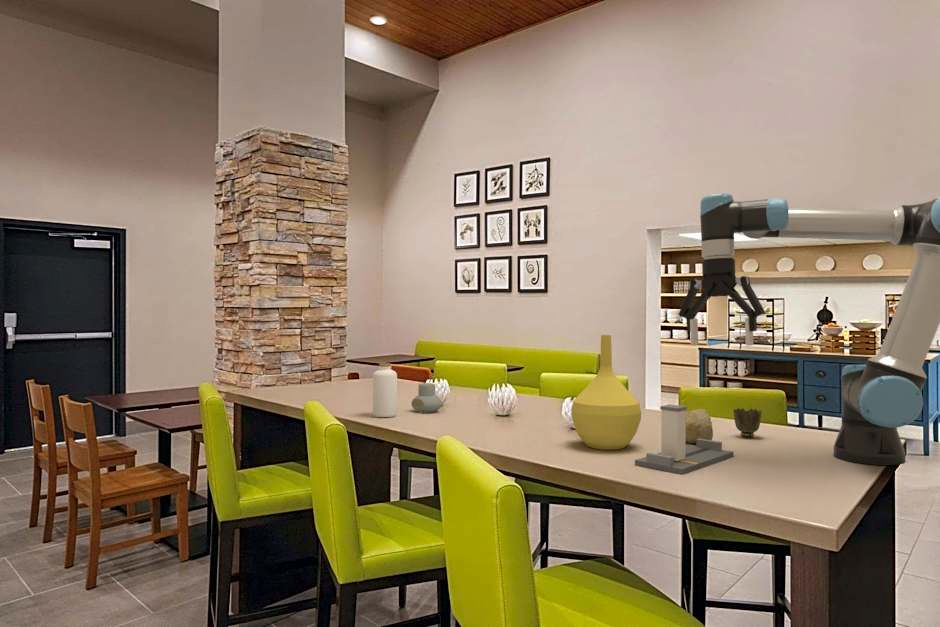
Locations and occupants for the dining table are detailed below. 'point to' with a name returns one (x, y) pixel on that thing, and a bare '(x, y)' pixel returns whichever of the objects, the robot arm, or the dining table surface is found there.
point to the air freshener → (426, 399)
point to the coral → (698, 426)
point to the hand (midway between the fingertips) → (721, 345)
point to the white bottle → (384, 391)
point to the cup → (747, 421)
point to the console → (687, 458)
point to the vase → (606, 408)
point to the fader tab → (673, 431)
